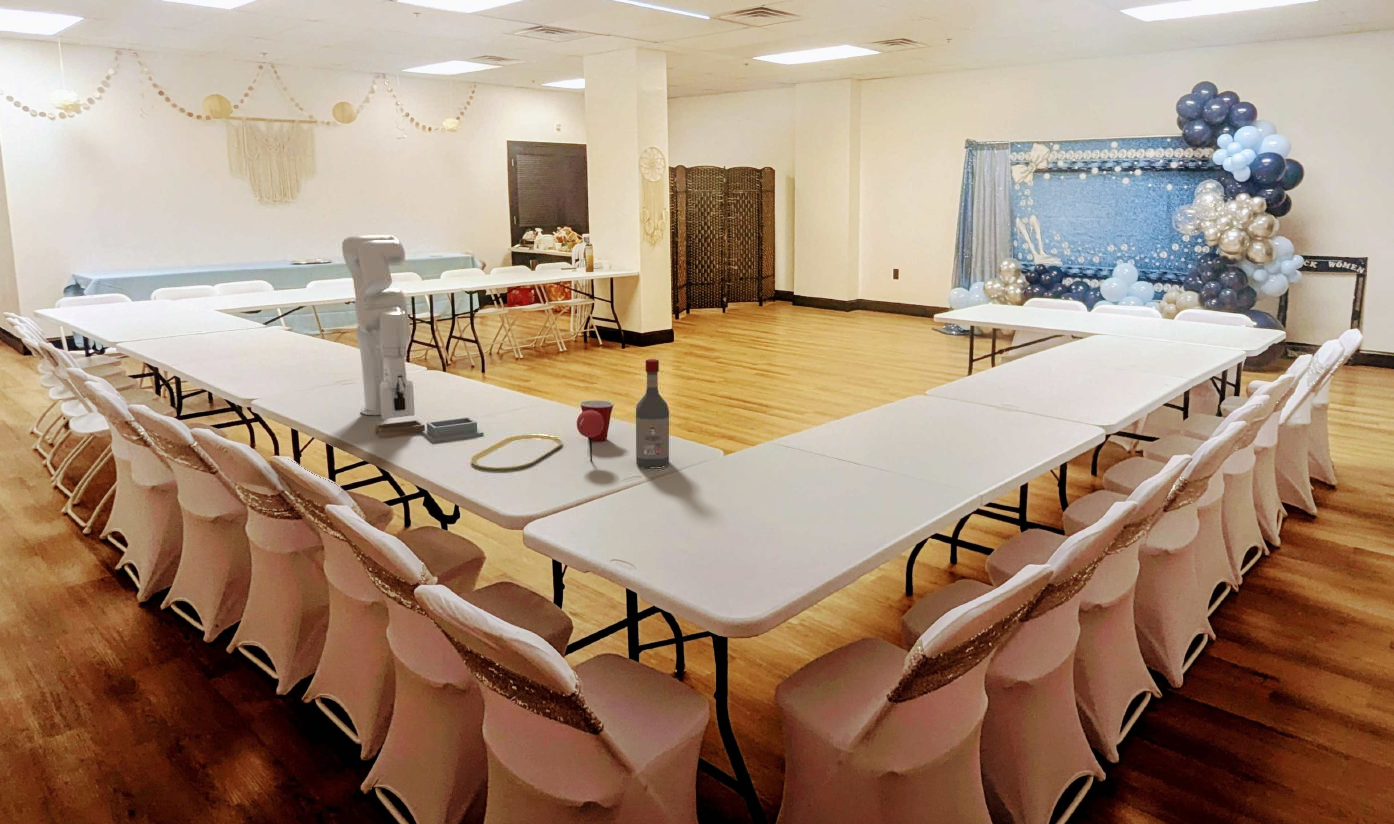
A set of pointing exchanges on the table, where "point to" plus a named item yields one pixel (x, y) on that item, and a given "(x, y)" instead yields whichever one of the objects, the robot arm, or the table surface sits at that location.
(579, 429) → the lollipop
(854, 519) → the table surface
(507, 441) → the gold oval ring
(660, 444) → the liquor
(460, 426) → the docking base
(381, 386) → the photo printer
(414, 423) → the wooden picture frame
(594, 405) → the plastic cup
